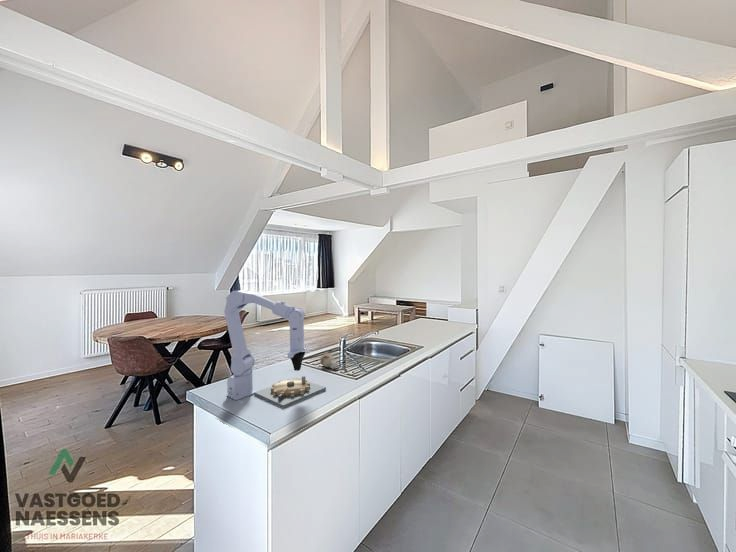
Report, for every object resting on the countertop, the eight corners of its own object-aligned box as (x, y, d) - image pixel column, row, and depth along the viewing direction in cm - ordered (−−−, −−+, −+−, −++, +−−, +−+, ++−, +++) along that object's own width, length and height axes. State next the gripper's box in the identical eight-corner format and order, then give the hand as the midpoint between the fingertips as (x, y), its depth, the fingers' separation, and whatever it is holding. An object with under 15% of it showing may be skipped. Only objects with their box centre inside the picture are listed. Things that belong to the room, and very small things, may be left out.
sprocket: (312, 393, 126) (312, 382, 126) (271, 399, 121) (271, 387, 121) (307, 380, 142) (306, 370, 142) (270, 385, 136) (269, 374, 136)
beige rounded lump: (331, 372, 158) (322, 354, 160) (324, 375, 166) (316, 358, 168) (343, 365, 162) (334, 348, 164) (336, 369, 170) (328, 352, 172)
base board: (283, 408, 117) (283, 400, 116) (254, 395, 129) (254, 388, 129) (325, 390, 134) (325, 383, 134) (296, 380, 146) (296, 373, 146)
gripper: (299, 342, 121) (299, 376, 121) (311, 334, 135) (312, 365, 136) (282, 341, 122) (283, 375, 122) (296, 334, 136) (297, 364, 137)
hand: (297, 370), depth 129 cm, fingers closed
